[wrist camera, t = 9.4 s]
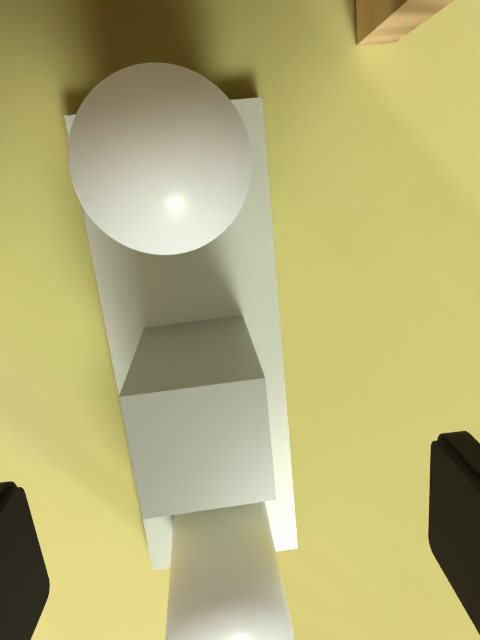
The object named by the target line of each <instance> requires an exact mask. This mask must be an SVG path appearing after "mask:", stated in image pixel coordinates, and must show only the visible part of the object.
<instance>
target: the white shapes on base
mask: <svg viewBox="0 0 480 640" xmlns="http://www.w3.org/2000/svg"><path fill="white" fill-rule="evenodd" d="M64 118H65V123H66V128H67V133H68V138H69V142H68V166H69V173H70V177H71V181H72V185H73V187H74V190H75V192H76V195H77V197H78V199H79V201H80V203H81V205H82V210H83V215H84V220H85V225H86V231H87V236H88V241H89V246H90V251H91V256H92V261H93V266H94V272H95V277H96V282H97V287H98V292H99V297H100V302H101V307H102V313H103V318H104V323H105V328H106V333H107V338H108V343H109V348H110V354H111V359H112V364H113V369H114V374H115V379H116V384H117V389H118V394H119V401H120V406H121V411H122V416H123V421H124V426H125V431H126V437H127V442H128V447H129V452H130V457H131V462H132V467H133V472H134V477H135V483H136V488H137V493H138V498H139V503H140V508H141V513H142V518H143V523H144V528H145V533H146V538H147V543H148V548H149V553H150V558H151V564H152V569H153V570H160V569H166V568H170V578H169V593H168V608H167V623H166V638H165V640H294V634H293V629H292V624H291V619H290V615H289V610H288V606H287V601H286V596H285V592H284V587H283V583H282V578H281V574H280V569H279V564H278V560H277V555H276V551H283V550H289V549H296V548H298V546H297V533H296V521H295V508H294V495H293V482H292V469H291V457H290V444H289V431H288V418H287V405H286V393H285V380H284V367H283V354H282V341H281V329H280V316H279V303H278V290H277V277H276V265H275V252H274V239H273V226H272V213H271V201H270V188H269V175H268V162H267V149H266V137H265V124H264V111H263V98H262V97H257V98H246V99H236V100H229V98H228V97H227V96H226V95H225V94H224V93H223V92H222V91H221V90H220V89H219V88H218V87H217V86H216V85H215V84H213V83H212V82H211V81H210V80H208V79H207V78H205V77H204V76H202V75H200V74H199V73H197V72H194V71H192V70H190V69H188V68H185V67H182V66H178V65H174V64H169V63H161V62H153V63H142V64H136V65H132V66H129V67H126V68H123V69H121V70H119V71H117V72H115V73H113V74H111V75H109V76H108V77H106V78H105V79H104V80H102V81H101V82H100V83H99V84H98V85H96V86H95V87H94V88H93V89H92V90H91V92H90V93H89V94H88V95H87V97H86V98H85V99H84V100H83V102H82V104H81V106H80V107H79V109H78V111H77V113H76V115H65V116H64Z"/></svg>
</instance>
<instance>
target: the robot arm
mask: <svg viewBox="0 0 480 640" xmlns="http://www.w3.org/2000/svg"><path fill="white" fill-rule="evenodd" d="M428 537H429V544H430V547H431V550H432V553H433V555H434V556H435V558H436V560H437V562H438V563H439V565H440V567H441V569H442V570H443V572H444V574H445V575H446V577H447V579H448V581H449V582H450V584H451V586H452V588H453V589H454V591H455V593H456V594H457V596H458V598H459V600H460V601H461V603H462V605H463V607H464V608H465V610H466V612H467V613H468V615H469V617H470V619H471V620H472V622H473V624H474V626H475V627H476V629H477V631H478V632H479V634H480V443H479V442H478V441H477V440H476V439H475V438H474V437H473V436H472V435H471V434H470V433H468V432H467V431H460V432H451V433H442V434H440V435H439V436H438V440H437V441H433V442H432V444H431V458H430V495H429V531H428ZM49 587H50V584H49V577H48V574H47V570H46V567H45V563H44V559H43V556H42V552H41V549H40V545H39V541H38V538H37V534H36V531H35V527H34V523H33V520H32V516H31V513H30V509H29V505H28V502H27V498H26V494H25V492H24V489H23V488H21V487H17V486H16V484H15V483H14V482H2V483H0V640H31V637H32V635H33V633H34V630H35V628H36V625H37V623H38V620H39V618H40V616H41V613H42V611H43V608H44V606H45V603H46V601H47V598H48V595H49Z"/></svg>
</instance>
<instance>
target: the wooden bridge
mask: <svg viewBox="0 0 480 640" xmlns="http://www.w3.org/2000/svg"><path fill="white" fill-rule="evenodd" d="M452 1H454V0H356V31H357V45H365V44H376V43H388V42H397V41H398V40H399V39H401V38H402V37H403V36H405V35H406V34H408V33H409V32H410V31H412V30H413V29H415V28H416V27H417V26H419V25H420V24H422V23H423V22H424V21H426V20H427V19H429V18H430V17H431V16H433V15H434V14H435V13H437V12H438V11H440V10H441V9H442V8H444V7H445V6H447V5H448V4H449V3H451V2H452Z"/></svg>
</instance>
